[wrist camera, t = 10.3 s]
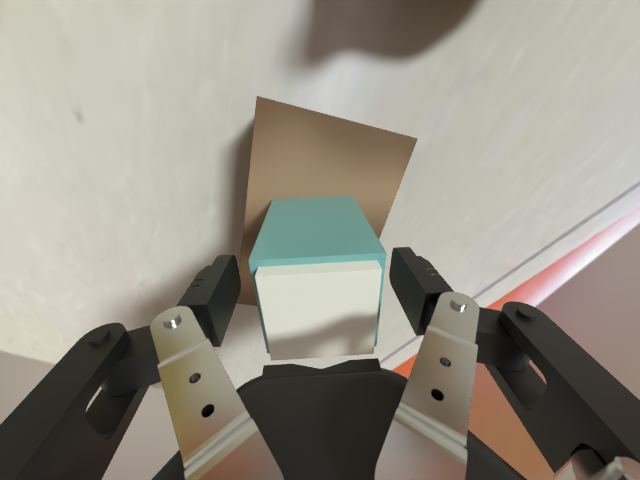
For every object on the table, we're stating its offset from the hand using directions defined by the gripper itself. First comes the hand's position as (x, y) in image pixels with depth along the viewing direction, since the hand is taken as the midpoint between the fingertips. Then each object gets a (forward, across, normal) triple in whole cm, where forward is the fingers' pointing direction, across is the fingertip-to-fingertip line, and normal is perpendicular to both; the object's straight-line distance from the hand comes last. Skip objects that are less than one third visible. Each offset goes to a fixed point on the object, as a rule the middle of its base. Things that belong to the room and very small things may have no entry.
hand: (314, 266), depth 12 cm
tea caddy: (+4, 0, 0) cm, 4 cm away
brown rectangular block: (+9, 0, 0) cm, 9 cm away
